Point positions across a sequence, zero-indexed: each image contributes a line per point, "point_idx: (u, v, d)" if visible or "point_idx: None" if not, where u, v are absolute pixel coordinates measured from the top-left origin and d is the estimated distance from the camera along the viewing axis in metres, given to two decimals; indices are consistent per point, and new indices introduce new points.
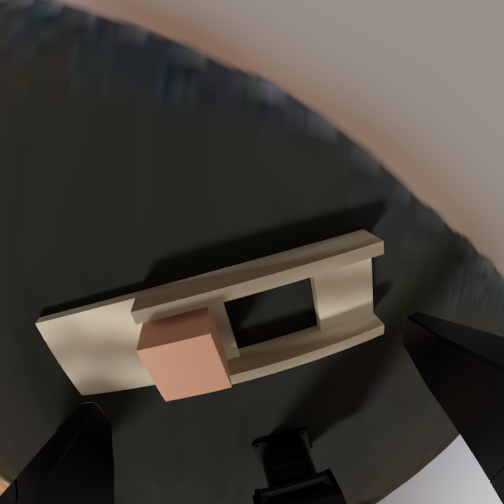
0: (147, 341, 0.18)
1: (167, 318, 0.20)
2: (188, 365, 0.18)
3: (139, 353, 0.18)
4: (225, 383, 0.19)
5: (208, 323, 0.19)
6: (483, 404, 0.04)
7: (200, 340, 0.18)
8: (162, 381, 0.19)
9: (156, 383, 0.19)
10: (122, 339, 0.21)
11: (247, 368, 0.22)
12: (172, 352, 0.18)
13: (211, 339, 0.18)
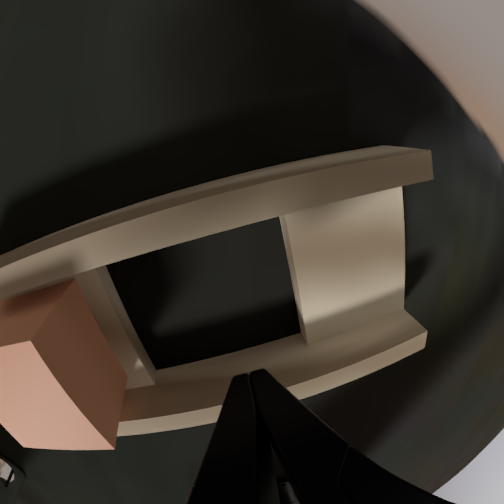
0: None
1: (11, 306, 0.09)
2: (22, 398, 0.07)
3: None
4: (100, 441, 0.08)
5: (43, 318, 0.07)
6: (298, 497, 0.04)
7: (19, 352, 0.06)
8: (2, 416, 0.07)
9: None
10: None
11: (160, 410, 0.11)
12: None
13: (36, 354, 0.06)
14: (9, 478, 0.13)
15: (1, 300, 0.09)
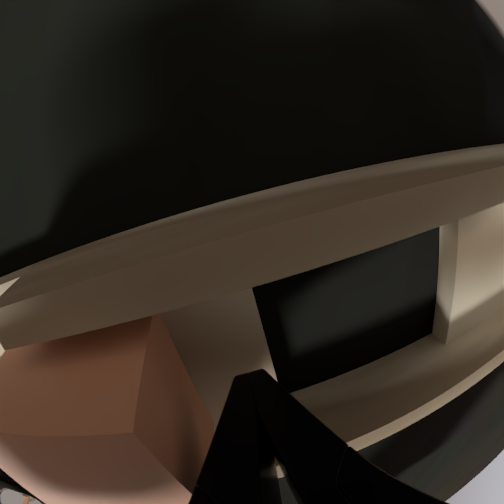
0: None
1: (48, 345, 0.06)
2: (93, 490, 0.04)
3: None
4: None
5: (136, 381, 0.05)
6: (296, 498, 0.04)
7: (103, 445, 0.04)
8: (49, 498, 0.04)
9: (39, 497, 0.04)
10: None
11: None
12: (35, 457, 0.04)
13: (142, 448, 0.04)
14: None
15: None
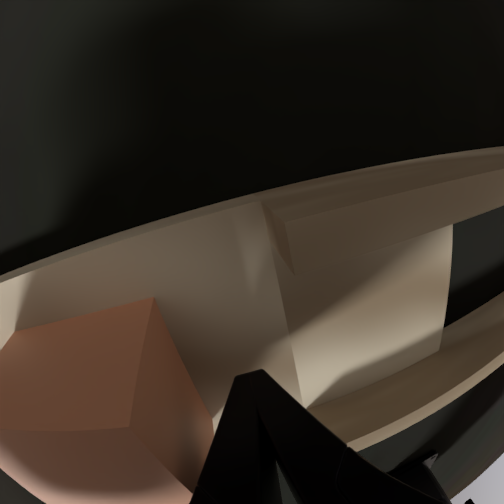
0: None
1: (45, 341, 0.06)
2: (90, 487, 0.04)
3: None
4: None
5: (133, 375, 0.05)
6: (295, 498, 0.04)
7: (99, 441, 0.04)
8: (47, 496, 0.04)
9: (37, 495, 0.04)
10: (193, 341, 0.08)
11: (469, 369, 0.09)
12: (31, 454, 0.04)
13: (139, 444, 0.04)
14: None
15: None
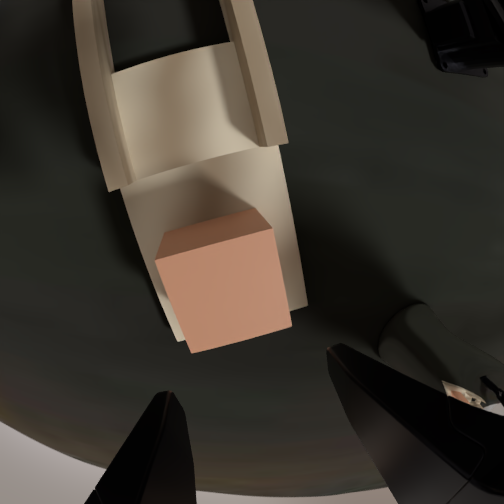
0: None
1: None
2: (216, 292, 0.13)
3: (195, 350, 0.14)
4: (262, 238, 0.12)
5: (158, 252, 0.13)
6: (396, 458, 0.04)
7: (166, 274, 0.12)
8: (248, 327, 0.14)
9: (252, 335, 0.14)
10: (189, 214, 0.16)
11: (235, 23, 0.11)
12: (191, 312, 0.13)
13: (165, 259, 0.12)
14: (419, 320, 0.20)
15: (146, 165, 0.14)
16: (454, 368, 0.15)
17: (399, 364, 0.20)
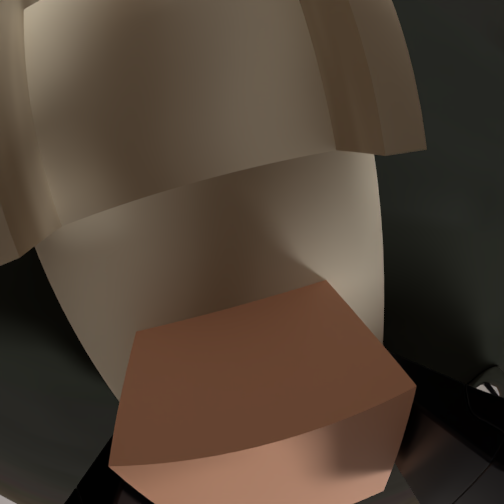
0: None
1: None
2: (262, 498, 0.04)
3: None
4: (387, 411, 0.04)
5: (118, 418, 0.05)
6: (416, 448, 0.04)
7: (144, 483, 0.04)
8: None
9: None
10: (180, 299, 0.07)
11: None
12: None
13: (134, 467, 0.03)
14: (495, 393, 0.12)
15: (77, 192, 0.06)
16: None
17: None
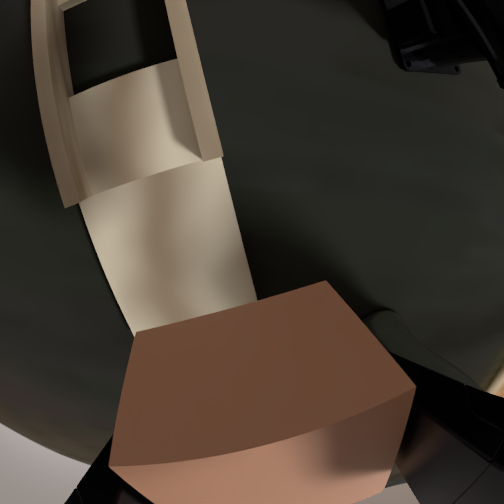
0: None
1: None
2: (261, 498, 0.04)
3: None
4: (386, 411, 0.04)
5: (118, 418, 0.05)
6: (416, 448, 0.04)
7: (144, 484, 0.04)
8: None
9: None
10: (140, 226, 0.16)
11: (174, 42, 0.12)
12: None
13: (134, 468, 0.03)
14: (382, 327, 0.21)
15: (100, 181, 0.15)
16: None
17: None
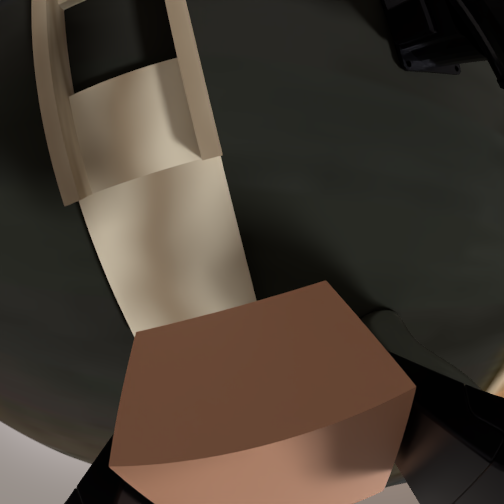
0: None
1: None
2: (261, 498, 0.04)
3: None
4: (386, 411, 0.04)
5: (118, 419, 0.05)
6: (416, 448, 0.04)
7: (145, 484, 0.04)
8: None
9: None
10: (139, 224, 0.16)
11: None
12: None
13: (134, 468, 0.03)
14: (381, 327, 0.21)
15: (100, 180, 0.15)
16: None
17: None
